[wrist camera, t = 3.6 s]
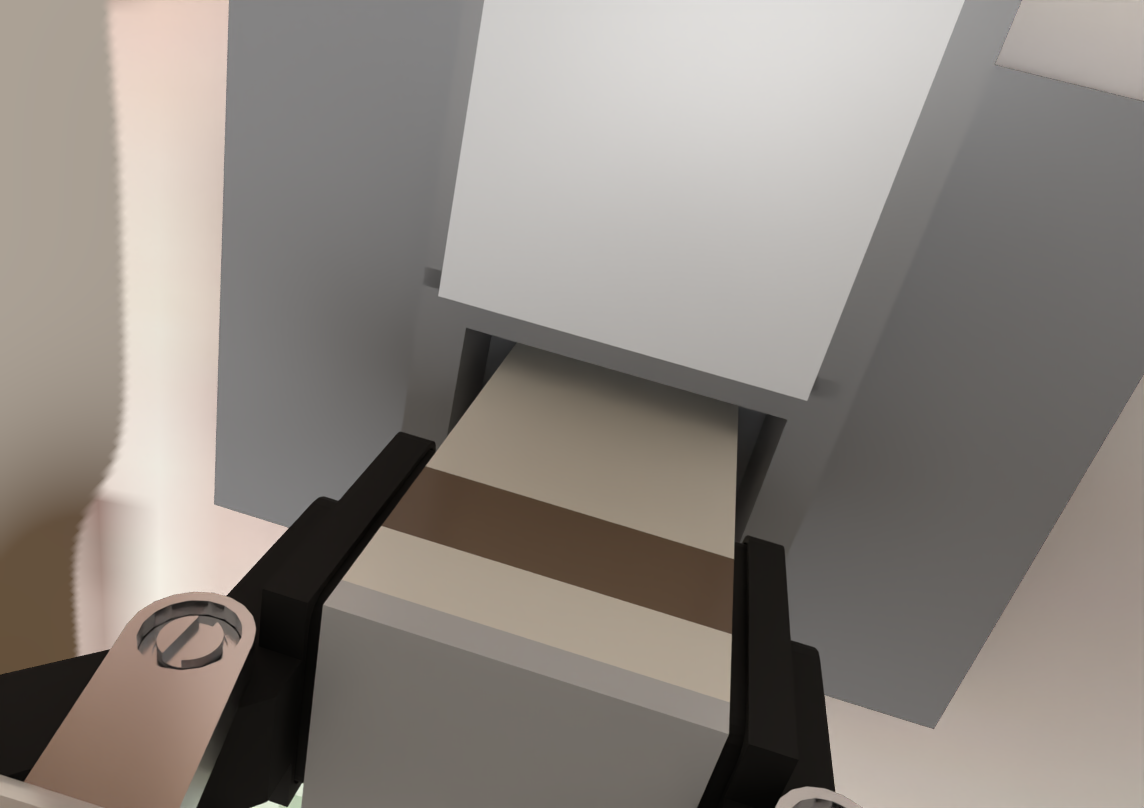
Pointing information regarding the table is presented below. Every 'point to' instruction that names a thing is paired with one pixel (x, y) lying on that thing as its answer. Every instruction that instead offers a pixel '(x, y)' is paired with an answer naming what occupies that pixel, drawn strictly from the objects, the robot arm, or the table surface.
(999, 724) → the table surface
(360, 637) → the grey rectangular block
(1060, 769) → the table surface
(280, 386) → the block
